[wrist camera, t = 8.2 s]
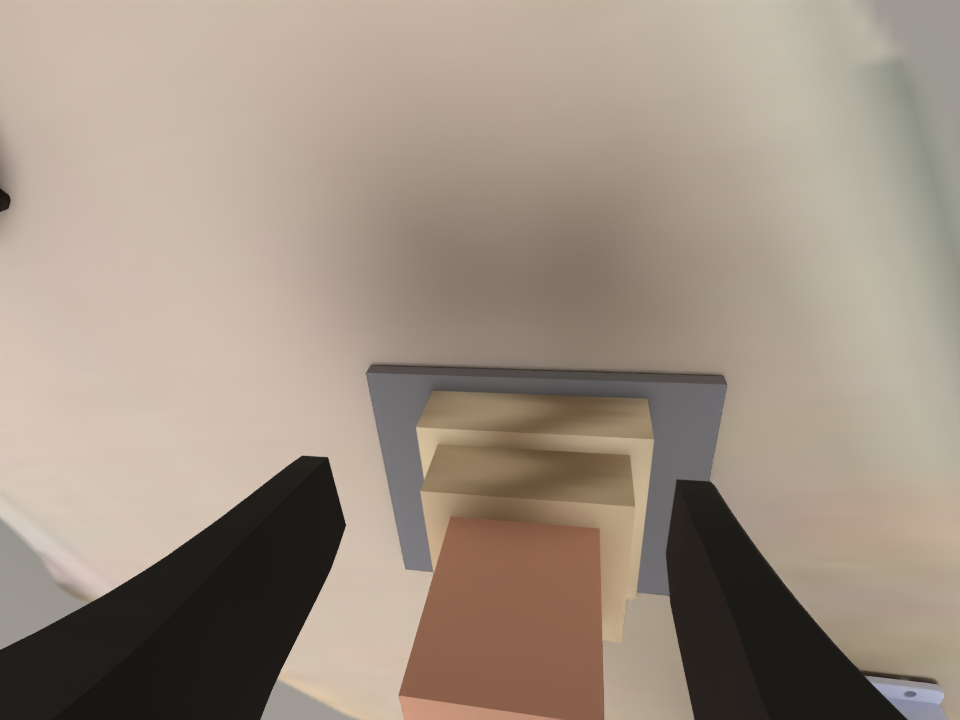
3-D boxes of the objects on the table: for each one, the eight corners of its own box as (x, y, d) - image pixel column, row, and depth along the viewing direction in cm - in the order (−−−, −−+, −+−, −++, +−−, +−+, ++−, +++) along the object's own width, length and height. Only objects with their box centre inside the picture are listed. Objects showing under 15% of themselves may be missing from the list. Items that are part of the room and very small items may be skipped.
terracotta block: (599, 528, 18) (604, 725, 13) (593, 624, 20) (595, 821, 15) (450, 516, 19) (398, 695, 13) (462, 609, 21) (422, 790, 16)
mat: (723, 375, 20) (726, 384, 20) (685, 586, 26) (687, 597, 26) (370, 365, 23) (365, 373, 22) (408, 560, 29) (405, 569, 28)
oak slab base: (647, 398, 21) (654, 439, 19) (631, 552, 25) (635, 600, 23) (432, 390, 22) (416, 427, 20) (451, 536, 26) (439, 579, 24)
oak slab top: (630, 455, 19) (635, 506, 17) (618, 586, 23) (621, 642, 20) (437, 444, 20) (420, 491, 18) (454, 569, 24) (441, 621, 22)
